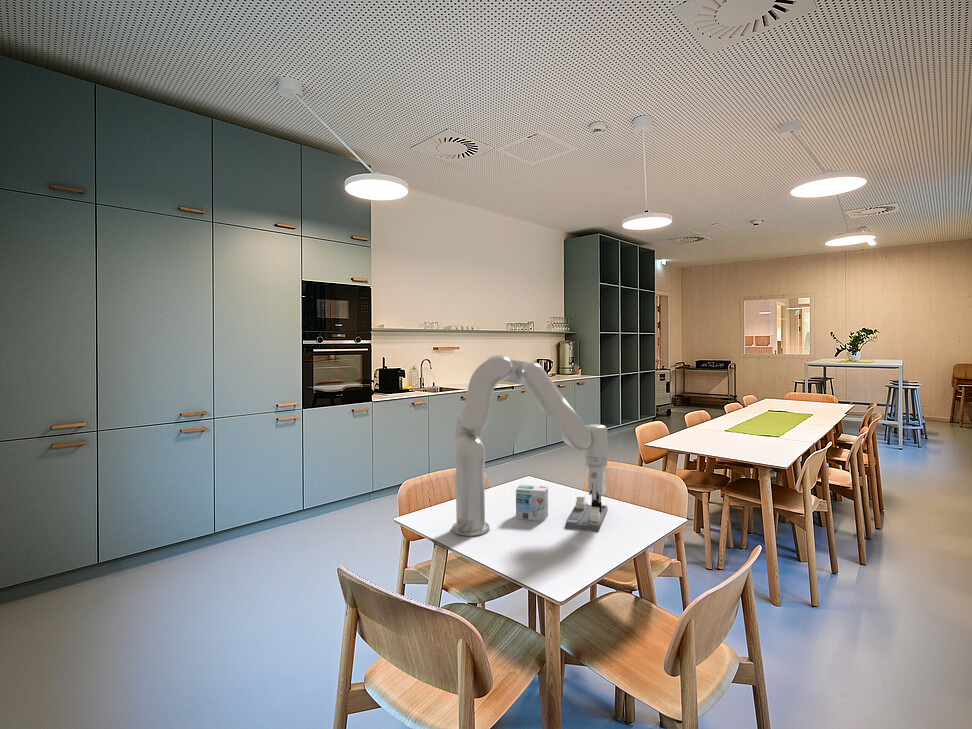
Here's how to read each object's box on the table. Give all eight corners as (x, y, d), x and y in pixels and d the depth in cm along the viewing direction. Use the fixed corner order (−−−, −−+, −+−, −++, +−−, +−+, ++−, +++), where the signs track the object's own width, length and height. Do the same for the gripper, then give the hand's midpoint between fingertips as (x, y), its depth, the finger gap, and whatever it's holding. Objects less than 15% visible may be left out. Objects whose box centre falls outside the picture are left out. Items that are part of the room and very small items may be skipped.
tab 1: (584, 509, 182) (583, 498, 182) (575, 508, 183) (575, 497, 183) (585, 505, 186) (585, 495, 186) (577, 505, 187) (577, 494, 187)
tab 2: (598, 522, 168) (598, 510, 168) (589, 521, 169) (589, 509, 169) (600, 518, 172) (600, 506, 172) (591, 517, 173) (591, 505, 173)
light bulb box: (515, 518, 178) (515, 488, 178) (519, 513, 184) (519, 483, 184) (545, 521, 175) (545, 490, 175) (548, 515, 181) (548, 485, 181)
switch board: (599, 531, 164) (599, 525, 164) (565, 527, 168) (565, 521, 168) (607, 510, 186) (607, 504, 186) (577, 507, 190) (577, 502, 190)
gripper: (604, 466, 165) (604, 521, 165) (609, 457, 179) (610, 507, 179) (581, 464, 168) (582, 518, 168) (588, 455, 182) (588, 505, 182)
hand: (596, 513), depth 174 cm, fingers closed
